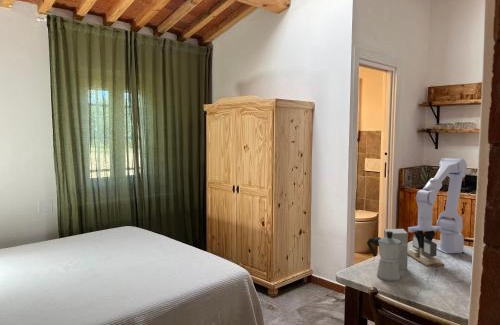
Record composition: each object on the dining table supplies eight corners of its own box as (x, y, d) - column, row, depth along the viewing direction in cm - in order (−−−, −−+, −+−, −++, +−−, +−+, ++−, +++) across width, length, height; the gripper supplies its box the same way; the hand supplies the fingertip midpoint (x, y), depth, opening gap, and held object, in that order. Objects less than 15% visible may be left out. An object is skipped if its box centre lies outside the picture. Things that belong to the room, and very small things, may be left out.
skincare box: (402, 264, 159) (403, 228, 158) (408, 270, 152) (409, 232, 151) (382, 264, 160) (383, 227, 158) (386, 270, 153) (387, 232, 151)
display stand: (421, 252, 174) (421, 242, 174) (444, 265, 157) (444, 253, 157) (404, 253, 173) (405, 242, 173) (426, 266, 156) (426, 254, 156)
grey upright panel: (436, 256, 158) (436, 243, 158) (430, 256, 158) (430, 244, 157) (417, 246, 172) (417, 234, 172) (412, 246, 172) (412, 234, 171)
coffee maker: (407, 276, 146) (409, 231, 144) (403, 284, 138) (404, 236, 137) (369, 269, 154) (370, 226, 152) (363, 276, 147) (364, 231, 145)
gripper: (414, 219, 159) (413, 251, 160) (446, 218, 161) (445, 249, 162) (405, 216, 166) (404, 246, 167) (436, 215, 168) (435, 244, 169)
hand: (424, 247), depth 165 cm, fingers closed on grey upright panel, 2 cm apart
